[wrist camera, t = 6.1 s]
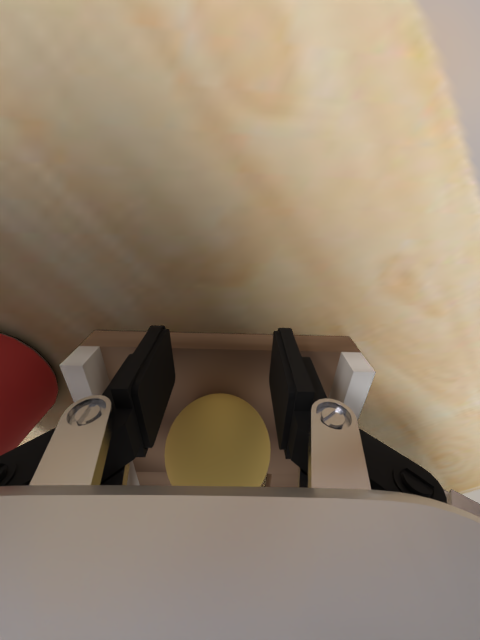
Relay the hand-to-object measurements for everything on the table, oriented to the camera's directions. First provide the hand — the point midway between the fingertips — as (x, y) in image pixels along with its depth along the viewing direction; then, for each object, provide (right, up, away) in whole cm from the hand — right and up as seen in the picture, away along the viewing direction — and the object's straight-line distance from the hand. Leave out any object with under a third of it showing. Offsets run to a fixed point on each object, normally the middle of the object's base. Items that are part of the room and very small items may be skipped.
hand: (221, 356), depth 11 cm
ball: (0, -5, +1) cm, 5 cm away
